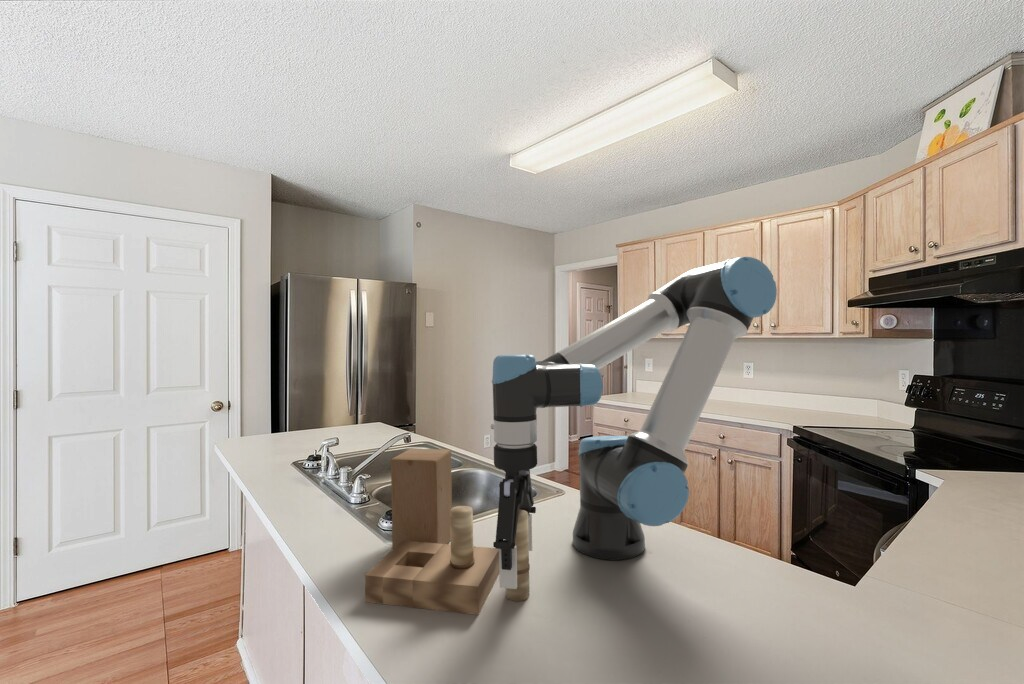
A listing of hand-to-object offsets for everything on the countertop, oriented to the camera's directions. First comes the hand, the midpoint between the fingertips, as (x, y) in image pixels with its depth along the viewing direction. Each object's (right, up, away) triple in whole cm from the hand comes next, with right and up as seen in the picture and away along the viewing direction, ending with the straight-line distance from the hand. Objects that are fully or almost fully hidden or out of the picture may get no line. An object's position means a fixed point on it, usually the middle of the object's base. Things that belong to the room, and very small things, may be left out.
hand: (517, 567), depth 79 cm
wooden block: (-20, -6, +20) cm, 29 cm away
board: (-15, -5, +3) cm, 16 cm away
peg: (0, -5, 0) cm, 5 cm away
